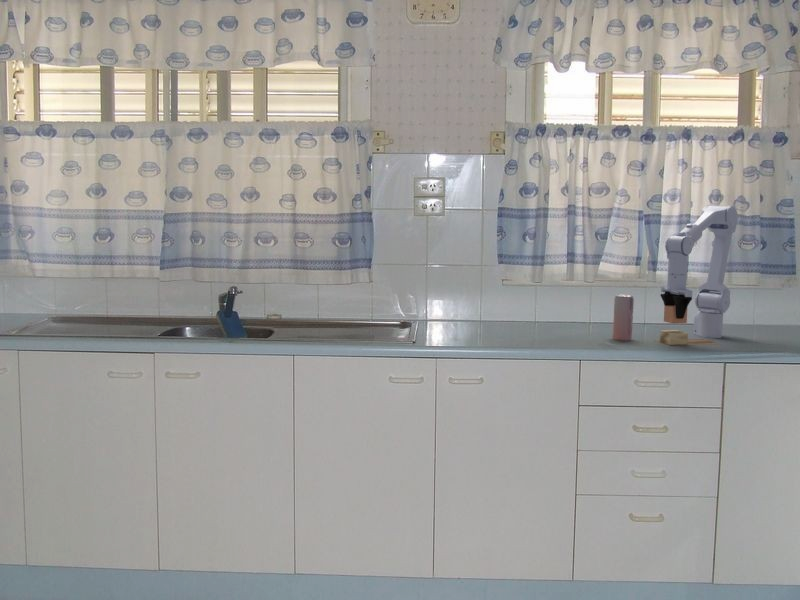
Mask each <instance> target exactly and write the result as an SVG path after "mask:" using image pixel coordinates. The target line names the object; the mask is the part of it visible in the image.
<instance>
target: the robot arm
mask: <svg viewBox="0 0 800 600" xmlns="http://www.w3.org/2000/svg"><path fill="white" fill-rule="evenodd" d="M738 219H739V214H738V210H737V208H736V207H735V206H733V205H728V206H727V205H726V206H725V205H724V206H723V205H705V206H704V207H703V208H702V210H701V214H700V216H699V217H698V219H697V220H696V221H695V222H694V223H687V224H686V225H685V226H684V228H683V229H682V230H681V231H679V232H678V233H677V234H676V235H671V236H670V237H668V238H667V240H666V242H665V245H664V246H665V247H664V248H665V251H666V258H667V261H668V263H667V264H668V265H667V280H666V281H667V283H666V285H661V288H660V292H661V294H660V297H661V299H662V301H663V306H672V305H675V307H676V318H677V319H683V318H684V315H685V312H686V309H687V310H688V308H687V307H688V306H689V304H690V303H691V301H692V300H693V290H690V289H689V288H687V279H688V277H687V276H688V263H689V262H688V260H689V255H690V254H691V253H692V251H693V247H695V244H696V243H697V242H698V241H699V240H700V239H701V238H702V236H703V232H704V231H705V230H706V229H708V230H709V232H712V233H713V234H714V239H713V244H712V251H711V257H710V262H709V263H710V264H709V268H708V273H707V280H706V281H705V282H704V283H703V284H701V285H700V286H699V287H698V290H697V292H696V295H695V297H694V304H695V307H696V308H697V309H698V311H697V312H696V313H695V314H694V317H693V329H692V330H693V332H692V334H693V335H697V336H699V337H702V338H711V339H720V338H722V337H723V327H724V326H723V324H724V314H725V313H726V312H727V311H728V310H729V308H730V305H731V297H730V296H731V290H730V288H728V286H726V285H725V283H724V281H725V276H726V271H727V263H728V260H729V259H728V258H729V254H730V253H729V252H730V247H731V242H732V237H733V236H732V235H733V234H734V233H735V232H736V230H737V225H738Z"/></svg>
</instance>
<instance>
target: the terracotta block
mask: <svg viewBox="0 0 800 600" xmlns="http://www.w3.org/2000/svg"><path fill="white" fill-rule="evenodd" d="M663 306H664V310H663V322H665V323H670V324H673V325H674V324H687V323H688V306H687V309H686V312H685V315H684V318H683V319H677V318H676V307H675V305H672V306H665V305H663Z"/></svg>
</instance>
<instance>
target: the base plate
mask: <svg viewBox="0 0 800 600" xmlns="http://www.w3.org/2000/svg"><path fill="white" fill-rule="evenodd" d="M654 342H657V343H660V344H664V345H666V346H669V347H676V346H677V347H679V346H680V347H682V346H686V347H687V346H708V345H709V346H711V345H712V346H713V345H714V346H715V345H720V343H719V342H715V341H713V340H712V341H711V340H709V339H705V338H695V339H694V338H692V339H689V338H688V341H687V344H674V345H670V344H667V343H664V342H660V339H657V340H656V339H655V340H654Z"/></svg>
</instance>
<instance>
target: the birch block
mask: <svg viewBox="0 0 800 600" xmlns="http://www.w3.org/2000/svg"><path fill="white" fill-rule="evenodd" d="M688 337H689V333H688V332H685V331H682V330H678V329H670V330H665V329H664V330H660V333H659V340H660V342H664V343H667V344H670V345H674V344H687V341H688V339H689V338H688ZM660 342H659V343H660Z"/></svg>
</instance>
